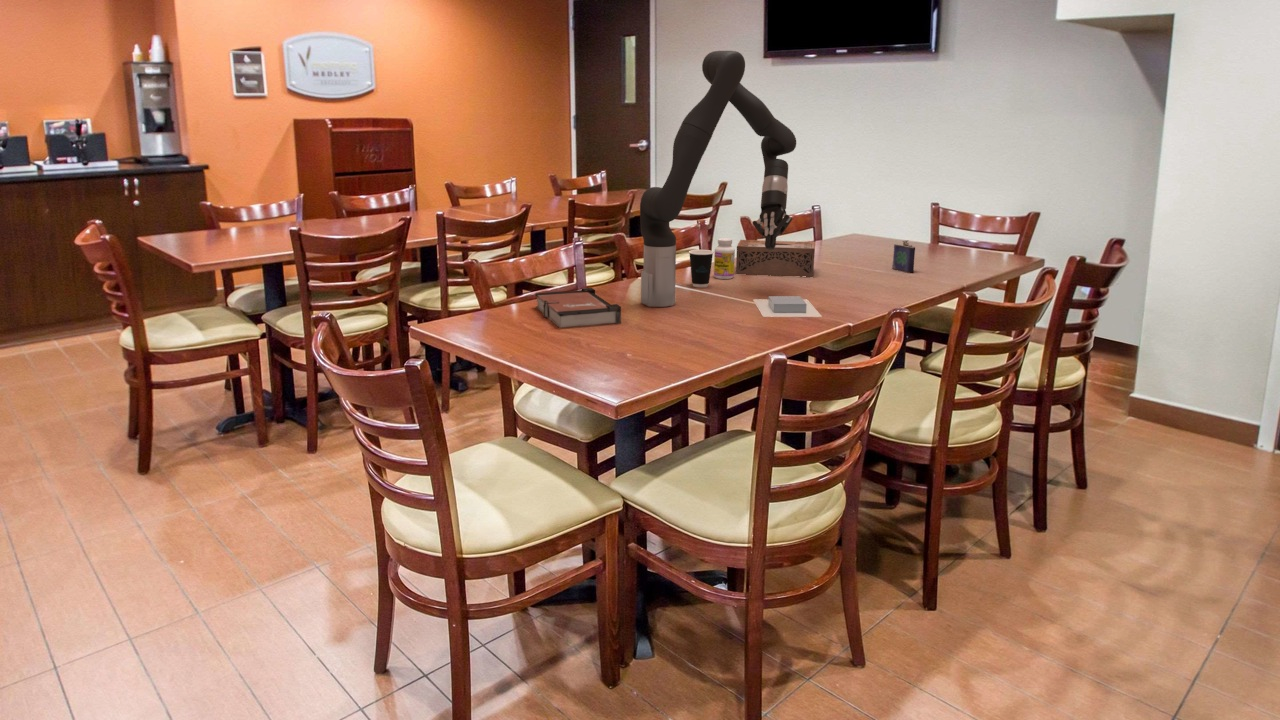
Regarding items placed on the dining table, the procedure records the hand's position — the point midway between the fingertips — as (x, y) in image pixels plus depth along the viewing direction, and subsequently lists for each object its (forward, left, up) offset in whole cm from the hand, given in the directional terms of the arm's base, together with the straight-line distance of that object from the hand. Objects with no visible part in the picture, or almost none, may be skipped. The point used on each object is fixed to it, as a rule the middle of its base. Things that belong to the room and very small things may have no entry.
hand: (770, 248), depth 262 cm
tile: (-1, -12, -13) cm, 18 cm away
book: (-60, -1, -16) cm, 62 cm away
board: (-2, -15, -15) cm, 21 cm away
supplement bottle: (+2, +34, -15) cm, 37 cm away
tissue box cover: (+23, +37, -15) cm, 46 cm away
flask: (+66, +24, -15) cm, 72 cm away
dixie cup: (-11, +24, -15) cm, 30 cm away
